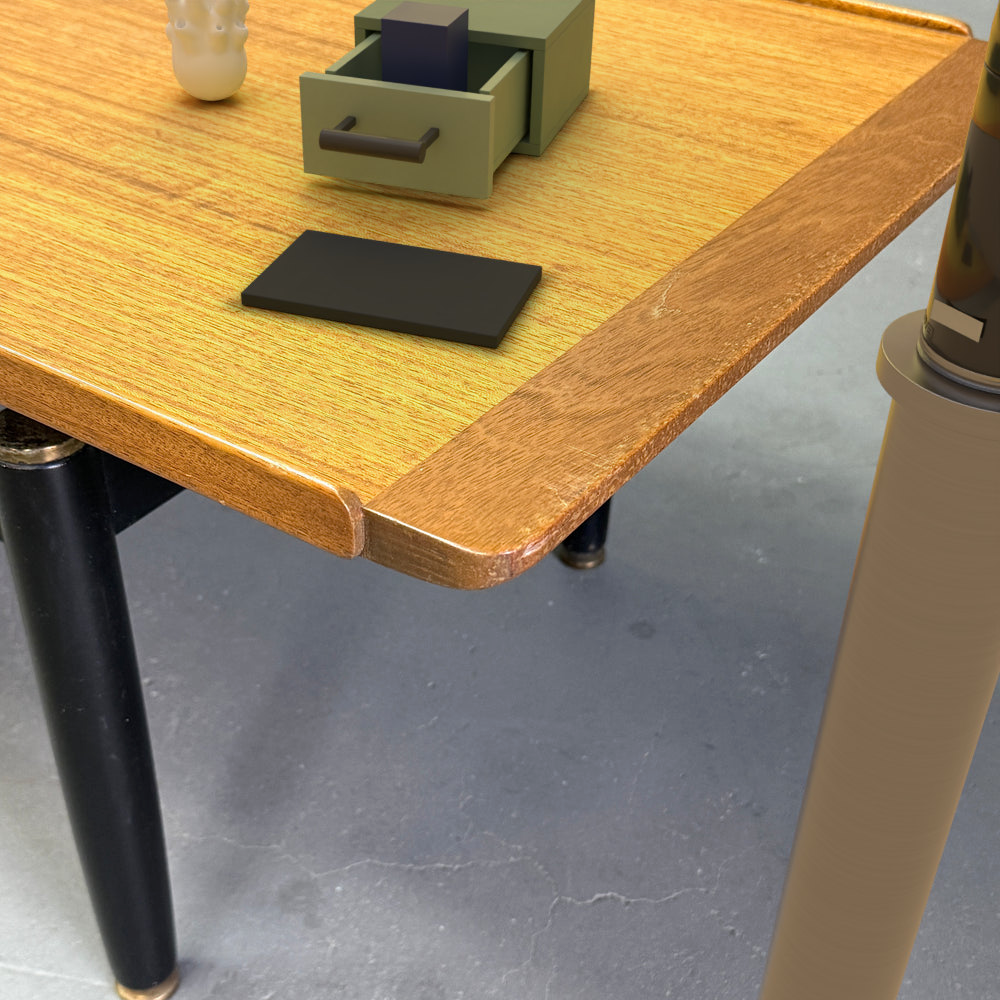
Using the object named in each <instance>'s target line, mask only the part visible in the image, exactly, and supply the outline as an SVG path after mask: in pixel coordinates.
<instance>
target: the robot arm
mask: <svg viewBox="0 0 1000 1000" xmlns="http://www.w3.org/2000/svg"><path fill="white" fill-rule="evenodd" d="M969 119H970V121H969V124H968V128H967V134H966V137H965V141H964V146H963V149H962V150H963V151H962V155H961V157H960V158H961V159H960V163H959V167H958V171H957V177H956V181H955V185H954V189H953V194H952V198H951V202H950V207H949V210H948V215H947V219H946V224H945V229H944V233H943V237H942V240H941V241H942V242H941V246H940V249H939V254H938V258H937V263H936V267H935V271H934V275H933V279H932V284H931V288H930V294H929V298H928V302H927V305H926V308H927V309H926V308H925V309H926V311H925V315H924V320H923V323H922V326H921V329H920V333H919V338H918V342H917V348H918V352H919V354H920V356H921V357H922V359H923V360H924V361H925V362H926V363H927V364H928V365H929V366H930V367H931V368H933V369H934V370H935V371H937V372H938V373H940V374H941V375H943V376H945V377H947V378H949V379H951V380H953V381H955V382H957V383H960V384H963V385H965V386H968V387H971V388H974V389H978V390H982V391H986V392H990V393H996V394H1000V0H998V1H997V5H996V9H995V11H994V15H993V19H992V23H991V27H990V33H989V37H988V42H987V46H986V51H985V55H984V60H983V64H982V67H981V71H980V76H979V81H978V85H977V90H976V93H975V98H974V103H973V107H972V111H971V116H970V118H969Z"/></svg>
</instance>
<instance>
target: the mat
mask: <svg viewBox="0 0 1000 1000" xmlns="http://www.w3.org/2000/svg"><path fill="white" fill-rule="evenodd" d="M542 277H543V266H542V265H536V264H531V263H523V262H518V261H513V260H505V259H498V258H493V257H487V256H486V257H485V256H480V255H474V254H467V253H460V252H456V251H455V252H454V251H448V250H442V249H436V248H430V247H429V248H428V247H422V246H421V247H420V246H416V245H410V244H403V243H397V242H390V241H384V240H379V239H378V240H377V239H372V238H364V237H358V236H353V235H345V234H339V233H333V232H326V231H322V230H321V231H320V230H315V229H309V228H308V229H305V230H304V231H303V232H301V234H300V235H299V236H297V238H296V239H295V240H293V242H292V243H290V244H289V246H287V248H285V250H283V251H282V252H281V254H279V255H278V256H277V257H276V258H275V259H273V261H272V262H271V263H270V264H269V265H268V266H267V267H266V268H265V269H264V270H263V271H261V273H260V274H259V275H257V277H255V279H254V280H252V281H251V283H250V284H248V285H247V286H246V287H245V288H244V289H243V291H241V292H240V302H241V305H243V306H248V307H254V308H261V309H265V310H271V311H277V312H284V313H290V314H295V315H301V316H306V317H312V318H318V319H324V320H330V321H335V322H341V323H348V324H353V325H358V326H359V325H360V326H365V327H370V328H376V329H383V330H389V331H393V332H400V333H406V334H411V335H417V336H424V337H427V338H428V337H429V338H433V339H441V340H446V341H452V342H458V343H464V344H469V345H475V346H481V347H487V348H492V349H497V348H498V346H499V345H500V343H501V342H502V341H503V338H504V337H505V335H506V334H507V332H508V331H509V329H510V327H511V325H512V324H513V323H514V322H515V319H517V316H518V315H519V314H520V312H521V310H522V309H523V307H524V305H525V304H526V302H527V301H528V300H529V297H530V296H531V295H532V293H533V291H534V290H535V288H536V287H537V285H538V284H539V282H540V280H541V279H542Z"/></svg>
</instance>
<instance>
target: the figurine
mask: <svg viewBox="0 0 1000 1000" xmlns="http://www.w3.org/2000/svg"><path fill="white" fill-rule="evenodd" d="M164 3H165V6H166V8H167V13H166V14H167V19H168V21H169V22H167V24H166V26H165V31H164V33H165V36H166V38H167V40H168V41H169V42H170V43H171V65H172V66H171V67H172V71H173V74H174V77H175V79H176V81H177V83H178V84H179V86H180V87H181V88H182V89H183V91H185V92H186V93H187V94H188V95H190V96H192V97H194V98H195V99H198V100H202V101H209V102H216V101H221V100H226V99H228V98H229V97H231V96H233V95H235V94H236V93H237V92H238V91H239V90H240V89H241V87H242V86H243V84H244V82H245V81H246V77H247V73H248V56H247V52H246V48H245V44H246V43H247V40H248V39H249V38H248V37H249V34H250V33H249V32H250V31H249V28H248V26H247V25H246V24H245V23H246V20H247V14H248V12H249V10H250V2H249V0H164Z"/></svg>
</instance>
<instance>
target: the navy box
mask: <svg viewBox="0 0 1000 1000" xmlns="http://www.w3.org/2000/svg"><path fill="white" fill-rule="evenodd" d="M468 23H469V8H462V7H454V6H445V5H437V4H428V3H420V2H411V1H404V2H403V3H401V4H400V5H398V6H397V7H396V8H394V9H393V10H392V11H390V12H389V13H388V14H386V15H385V16H384V17H382V18H381V51H382V81H384V82H392V83H399V84H407V85H415V86H422V87H430V88H437V89H445V90H453V91H460V92H467V75H468Z"/></svg>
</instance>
